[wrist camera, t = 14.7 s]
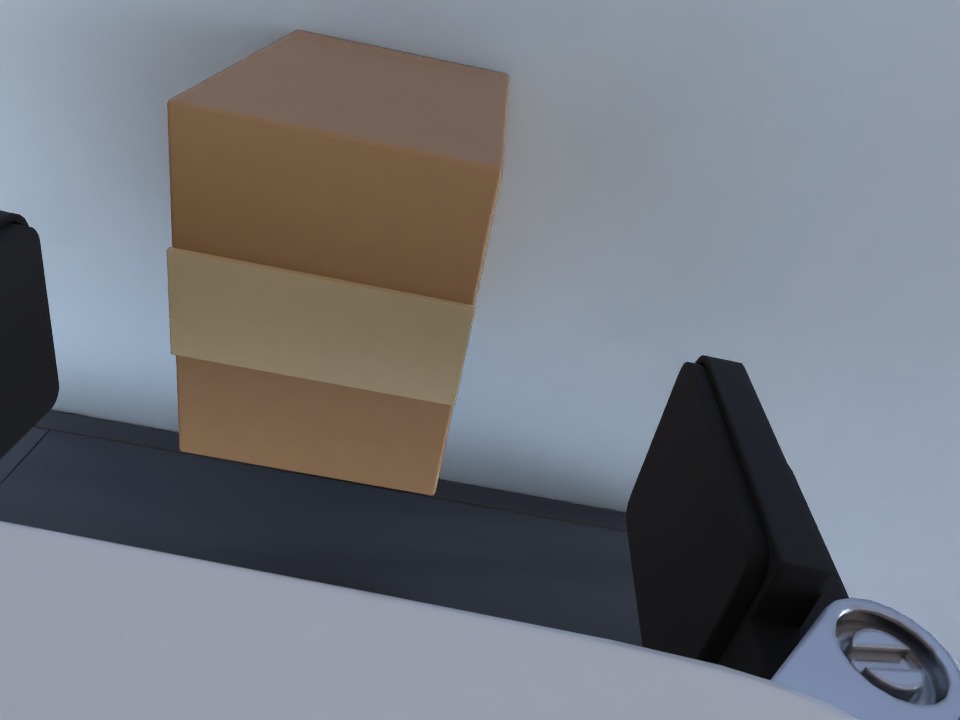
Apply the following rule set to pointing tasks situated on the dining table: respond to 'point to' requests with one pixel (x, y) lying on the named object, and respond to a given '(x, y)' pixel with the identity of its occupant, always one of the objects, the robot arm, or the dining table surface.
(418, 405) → the package
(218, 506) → the chest
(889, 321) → the dining table surface
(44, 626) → the robot arm
